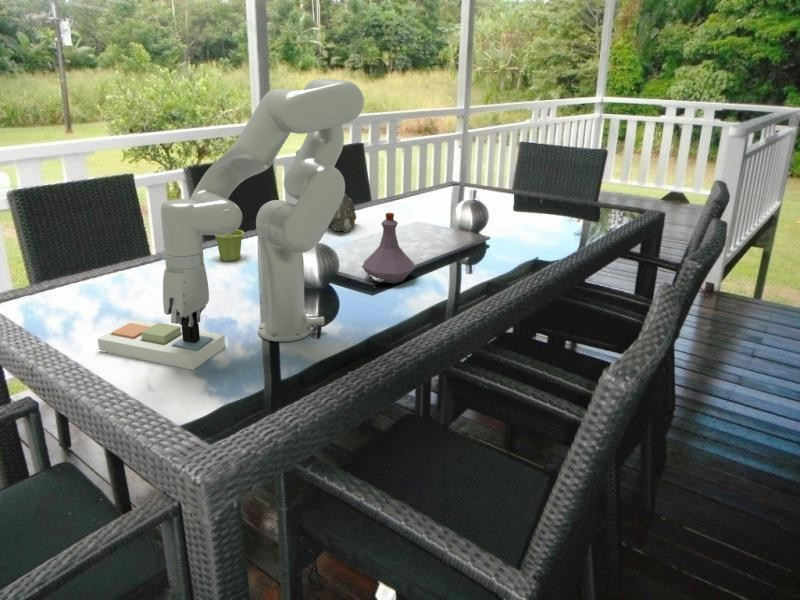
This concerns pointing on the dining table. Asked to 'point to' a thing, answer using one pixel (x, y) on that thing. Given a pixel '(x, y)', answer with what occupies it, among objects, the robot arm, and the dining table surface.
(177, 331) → the olive key
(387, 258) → the flask
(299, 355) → the dining table surface
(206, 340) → the slate blue key
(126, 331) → the terracotta key
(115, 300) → the dining table surface
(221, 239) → the plant pot
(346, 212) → the rock
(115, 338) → the keypad
